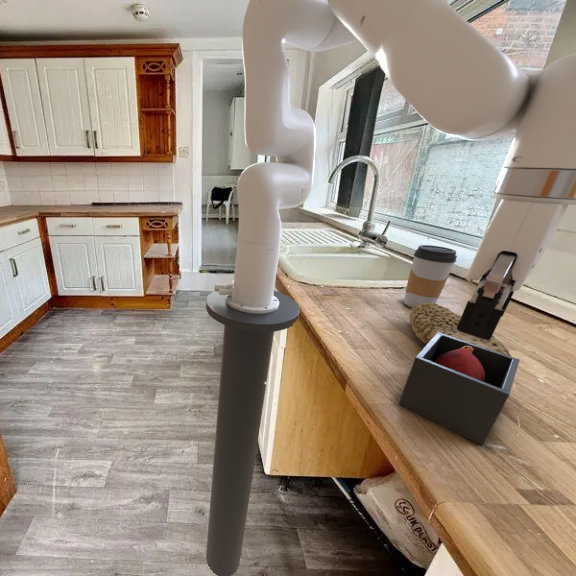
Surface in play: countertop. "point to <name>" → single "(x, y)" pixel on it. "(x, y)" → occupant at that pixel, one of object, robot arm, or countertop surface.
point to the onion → (462, 362)
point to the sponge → (446, 326)
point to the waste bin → (459, 388)
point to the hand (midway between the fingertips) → (480, 323)
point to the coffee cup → (428, 274)
